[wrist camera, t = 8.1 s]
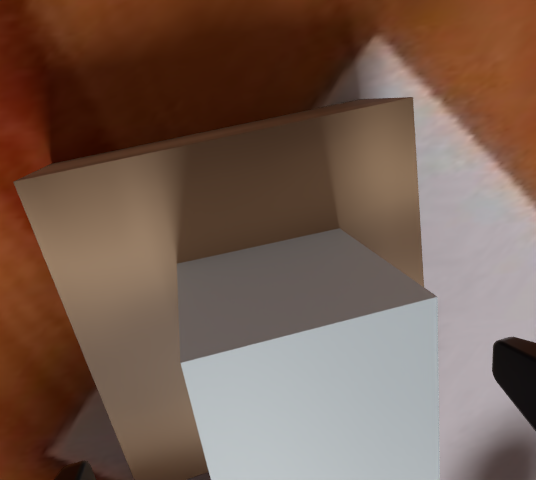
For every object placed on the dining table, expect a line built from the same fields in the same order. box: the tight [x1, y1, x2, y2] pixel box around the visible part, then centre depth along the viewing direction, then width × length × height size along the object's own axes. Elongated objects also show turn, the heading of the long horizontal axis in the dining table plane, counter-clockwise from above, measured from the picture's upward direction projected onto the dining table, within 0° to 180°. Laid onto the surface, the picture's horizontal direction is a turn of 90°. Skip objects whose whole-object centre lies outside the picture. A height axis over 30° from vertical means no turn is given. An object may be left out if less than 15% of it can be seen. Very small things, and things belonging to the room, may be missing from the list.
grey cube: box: [177, 228, 440, 480], centre depth 11 cm, size 5×5×5 cm
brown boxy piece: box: [14, 97, 424, 480], centre depth 15 cm, size 11×11×4 cm
